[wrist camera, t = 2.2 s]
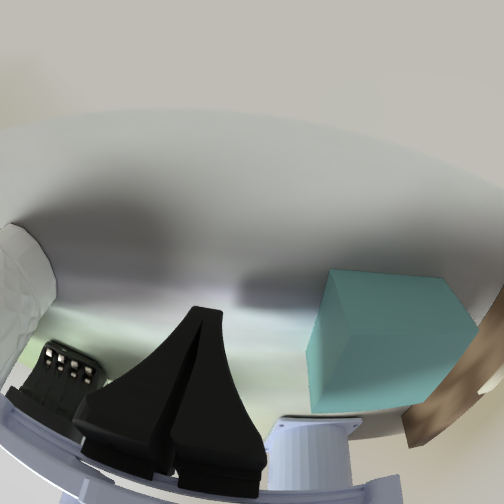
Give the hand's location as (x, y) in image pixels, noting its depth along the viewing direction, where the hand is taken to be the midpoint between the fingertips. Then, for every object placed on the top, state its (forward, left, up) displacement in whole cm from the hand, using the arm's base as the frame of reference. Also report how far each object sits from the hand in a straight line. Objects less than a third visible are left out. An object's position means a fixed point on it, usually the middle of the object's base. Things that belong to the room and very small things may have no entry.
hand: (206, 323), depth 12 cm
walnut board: (-4, -20, -2) cm, 20 cm away
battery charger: (-10, +12, -2) cm, 16 cm away
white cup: (-1, +14, -2) cm, 14 cm away
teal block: (0, -9, -2) cm, 9 cm away
